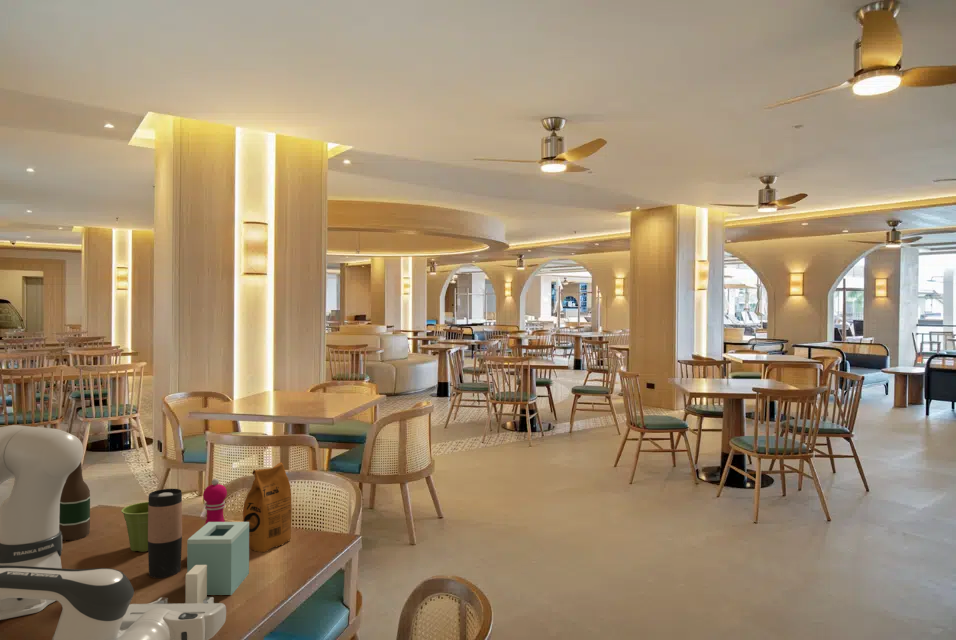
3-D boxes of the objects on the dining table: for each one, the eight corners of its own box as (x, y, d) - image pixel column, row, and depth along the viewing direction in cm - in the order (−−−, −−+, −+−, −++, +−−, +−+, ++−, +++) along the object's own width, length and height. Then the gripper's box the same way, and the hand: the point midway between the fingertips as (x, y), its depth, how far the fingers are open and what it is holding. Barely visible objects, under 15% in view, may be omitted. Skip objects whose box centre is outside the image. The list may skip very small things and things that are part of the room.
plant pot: (178, 544, 172) (179, 504, 172) (138, 559, 161) (138, 516, 161) (152, 537, 177) (152, 498, 177) (111, 550, 167) (111, 509, 167)
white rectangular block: (197, 616, 131) (197, 574, 131) (185, 616, 131) (185, 574, 131) (206, 605, 136) (206, 564, 136) (195, 605, 136) (195, 564, 136)
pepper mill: (234, 547, 170) (234, 475, 169) (220, 557, 162) (220, 482, 162) (209, 546, 170) (209, 474, 170) (194, 556, 163) (195, 481, 163)
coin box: (231, 595, 141) (231, 539, 140) (187, 595, 140) (187, 539, 140) (248, 573, 152) (249, 521, 152) (208, 573, 152) (208, 521, 152)
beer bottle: (72, 531, 181) (73, 450, 181) (96, 532, 180) (96, 451, 180) (51, 540, 174) (51, 456, 174) (75, 542, 173) (75, 457, 173)
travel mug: (140, 575, 151) (140, 495, 151) (165, 564, 158) (166, 487, 158) (163, 580, 148) (164, 498, 148) (188, 568, 155) (189, 490, 155)
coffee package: (236, 548, 169) (237, 469, 169) (271, 534, 180) (272, 460, 180) (261, 555, 164) (262, 473, 164) (296, 540, 175) (296, 464, 175)
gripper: (98, 652, 114) (136, 616, 128) (209, 651, 115) (235, 615, 128) (98, 618, 114) (137, 586, 128) (209, 617, 115) (236, 585, 128)
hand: (187, 600), depth 128 cm, fingers open, 8 cm apart
